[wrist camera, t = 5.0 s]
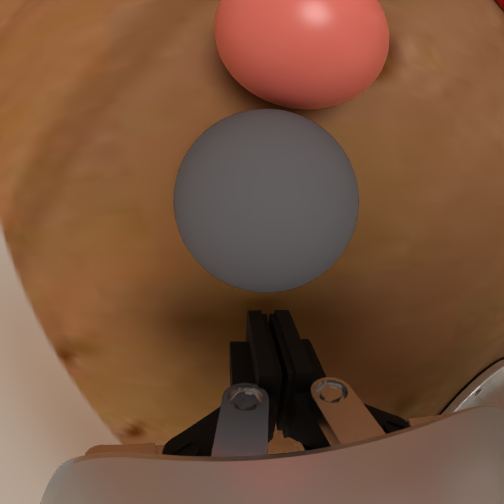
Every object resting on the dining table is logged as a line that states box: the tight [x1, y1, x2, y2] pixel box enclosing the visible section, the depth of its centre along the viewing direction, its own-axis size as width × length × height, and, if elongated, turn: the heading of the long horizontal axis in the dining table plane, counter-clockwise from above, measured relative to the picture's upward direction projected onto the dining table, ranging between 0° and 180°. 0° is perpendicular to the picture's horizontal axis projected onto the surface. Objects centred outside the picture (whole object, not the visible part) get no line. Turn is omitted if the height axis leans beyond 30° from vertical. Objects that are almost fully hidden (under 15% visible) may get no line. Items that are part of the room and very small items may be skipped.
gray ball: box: [174, 109, 359, 293], centre depth 9 cm, size 6×6×6 cm
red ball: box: [214, 0, 389, 110], centre depth 7 cm, size 6×6×6 cm
